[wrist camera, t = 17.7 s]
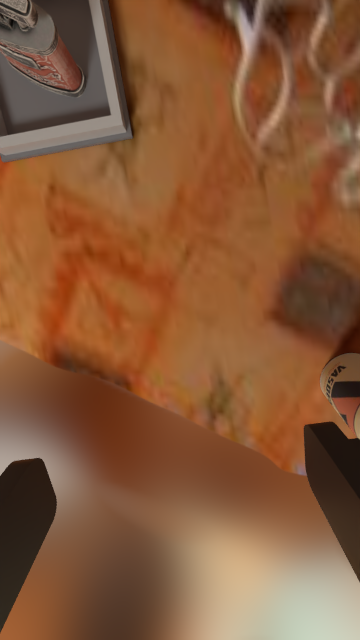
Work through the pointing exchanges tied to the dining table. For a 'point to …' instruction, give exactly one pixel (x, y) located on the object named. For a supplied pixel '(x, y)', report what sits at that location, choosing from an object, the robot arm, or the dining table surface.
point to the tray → (59, 110)
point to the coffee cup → (344, 388)
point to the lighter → (38, 48)
